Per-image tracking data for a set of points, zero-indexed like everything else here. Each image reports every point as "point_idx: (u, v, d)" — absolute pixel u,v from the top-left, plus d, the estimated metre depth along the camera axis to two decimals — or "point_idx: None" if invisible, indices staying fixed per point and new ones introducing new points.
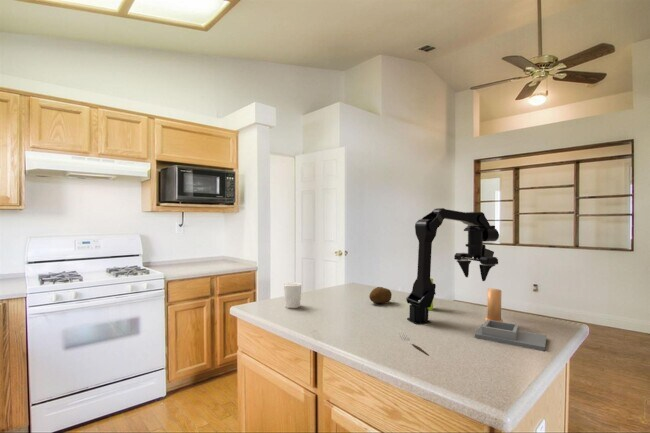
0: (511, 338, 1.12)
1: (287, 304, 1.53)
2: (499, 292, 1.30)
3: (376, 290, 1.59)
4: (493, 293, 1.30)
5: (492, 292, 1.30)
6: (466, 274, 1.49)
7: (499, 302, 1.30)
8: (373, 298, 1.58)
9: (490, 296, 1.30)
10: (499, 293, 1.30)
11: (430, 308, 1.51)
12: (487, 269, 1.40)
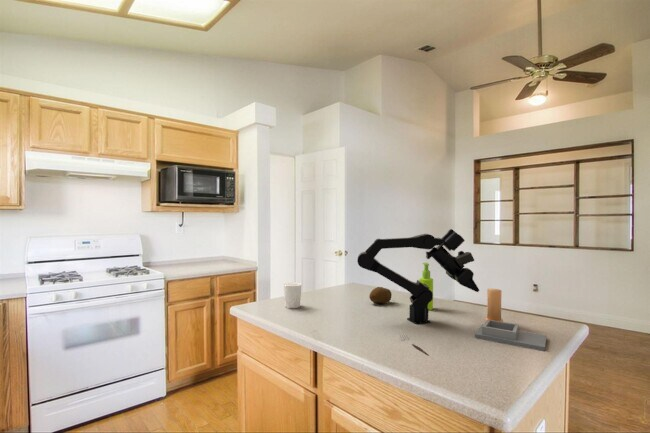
0: (511, 338, 1.12)
1: (287, 304, 1.53)
2: (499, 292, 1.30)
3: (376, 290, 1.59)
4: (493, 293, 1.30)
5: (492, 292, 1.30)
6: None
7: (499, 302, 1.30)
8: (373, 298, 1.58)
9: (490, 296, 1.30)
10: (499, 293, 1.30)
11: (430, 308, 1.51)
12: (471, 281, 1.27)
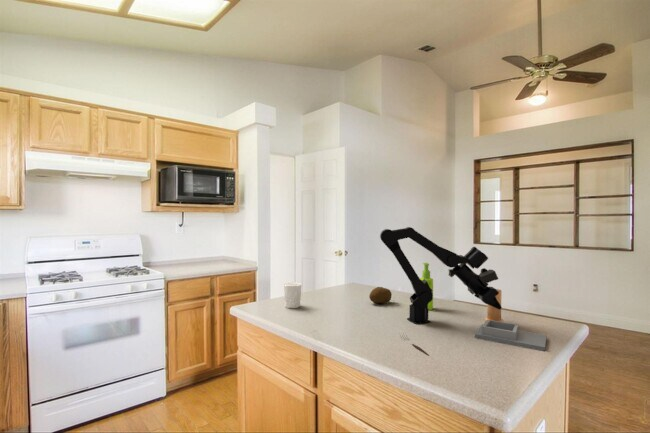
0: (511, 338, 1.12)
1: (287, 304, 1.53)
2: (499, 292, 1.30)
3: (376, 290, 1.59)
4: None
5: None
6: None
7: (499, 302, 1.30)
8: (373, 298, 1.58)
9: None
10: (499, 293, 1.30)
11: (430, 308, 1.51)
12: (493, 298, 1.28)
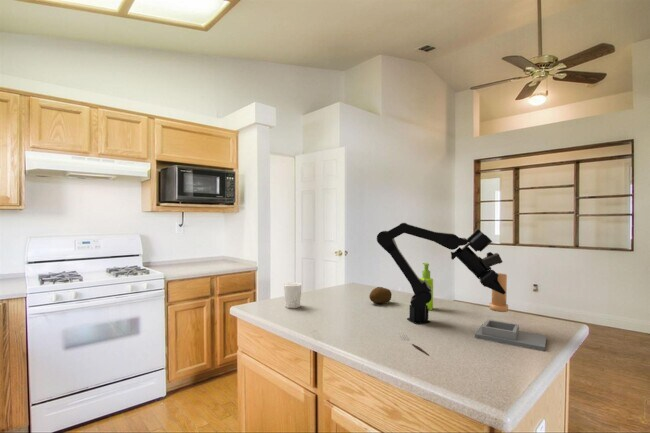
0: (511, 338, 1.12)
1: (287, 304, 1.53)
2: (503, 276, 1.24)
3: (376, 290, 1.59)
4: None
5: None
6: None
7: (503, 287, 1.24)
8: (373, 298, 1.58)
9: None
10: (503, 277, 1.24)
11: (430, 308, 1.51)
12: (496, 282, 1.23)
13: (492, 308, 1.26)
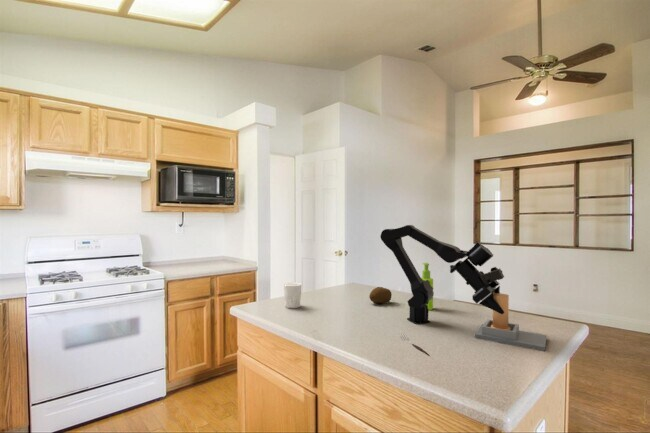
0: (511, 338, 1.12)
1: (287, 304, 1.53)
2: (503, 297, 1.16)
3: (376, 290, 1.59)
4: (496, 298, 1.17)
5: (495, 296, 1.18)
6: None
7: (503, 308, 1.16)
8: (373, 298, 1.58)
9: None
10: (503, 298, 1.16)
11: (430, 308, 1.51)
12: (492, 301, 1.15)
13: None
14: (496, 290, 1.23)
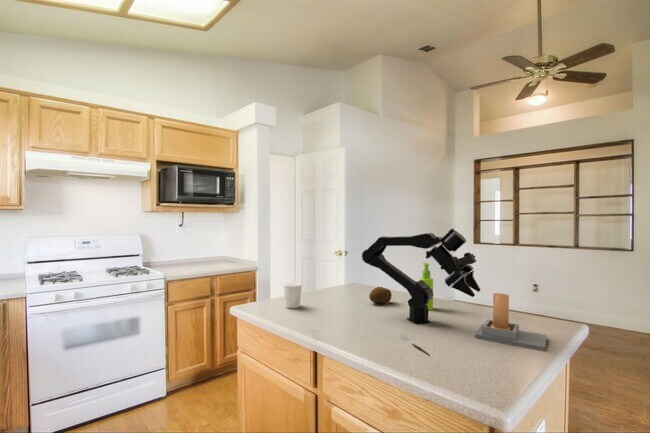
0: (511, 338, 1.12)
1: (287, 304, 1.53)
2: (503, 297, 1.16)
3: (376, 290, 1.59)
4: (496, 298, 1.17)
5: (495, 296, 1.18)
6: (476, 289, 1.27)
7: (503, 308, 1.16)
8: (373, 298, 1.58)
9: (494, 300, 1.18)
10: (503, 298, 1.16)
11: (430, 308, 1.51)
12: (463, 284, 1.20)
13: None
14: (470, 274, 1.29)
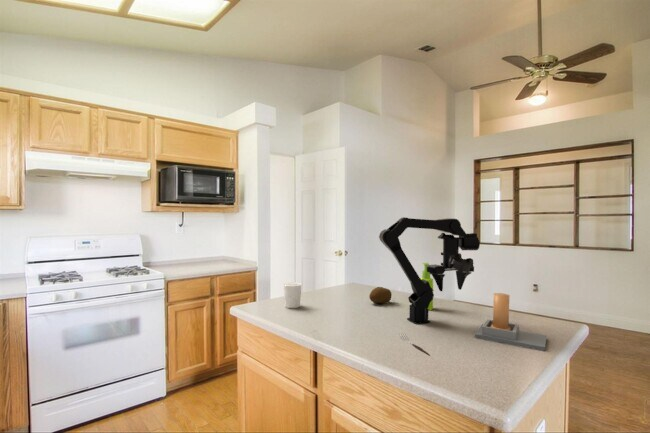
0: (511, 338, 1.12)
1: (287, 304, 1.53)
2: (504, 297, 1.16)
3: (376, 290, 1.59)
4: (497, 298, 1.17)
5: (496, 296, 1.17)
6: (458, 286, 1.37)
7: (504, 308, 1.16)
8: (373, 298, 1.58)
9: (494, 300, 1.18)
10: (504, 298, 1.16)
11: (430, 308, 1.51)
12: (439, 279, 1.33)
13: None
14: (463, 273, 1.36)
